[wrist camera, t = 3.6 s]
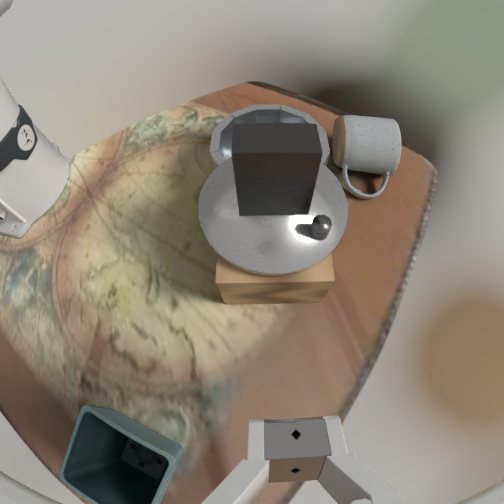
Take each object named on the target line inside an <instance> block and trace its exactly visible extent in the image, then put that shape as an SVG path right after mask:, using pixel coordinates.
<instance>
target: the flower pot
mask: <svg viewBox="0 0 504 504" xmlns="http://www.w3.org/2000/svg"><path fill="white" fill-rule="evenodd" d="M131 444H134V445H135V446H136V447H135V448H132V447H131ZM182 452H183V448H182V446H181V445H179V444H178V443H176V442H174V441H172V440H170V439H168V438H166V437H164V436H162V435H160V434H158V433H156V432H154V431H152V430H150V429H148V428H146V427H145V426H143V425H141V424H139V423H137V422H136V421H134V420H132V419H131V418H129V417H127V416H126V415H124V414H122V413H120V412H118V411H116V410H112V409H107V408H101V407H95V406H89V405H83V407H82V408H81V410H80V412H79V415H78V418H77V421H76V424H75V427H74V430H73V433H72V437H71V439H70V442H69V446H68V448H67V451H66V454H65V457H64V460H63V463H62V466H61V470H60V479H61V481H63V482H64V483H65V484H66V485H67V486H69V487H70V488H71V489H73V490H74V491H76V492H77V493H79V494H80V495H82V496H83V497H84V498H86V499H87V500H89V501H90V502H92V503H93V504H160V502H161V500H162V498H163V495H164V493H165V491H166V488H167V486H168V484H169V482H170V480H171V477H172V475H173V473H174V471H175V468H176V466H177V464H178V462H179V460H180V457H181V455H182ZM159 458H160V459H162V462H161V463H160V462H158V459H159ZM141 462H142V463H143V464H144V466H143V467H142V466H140V463H141Z"/></svg>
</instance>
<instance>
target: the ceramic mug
mask: <svg viewBox="0 0 504 504" xmlns="http://www.w3.org/2000/svg"><path fill="white" fill-rule="evenodd" d="M332 153H333V160H334V163H335V164H336V165H337V166H338V167H341V168H342V169H343V171H342V176H343V180H344V184H345V186H346V188H347V190H348V191H349V192H350V193H351V194H353V195H354V196H356V197H358V198H362V199H372V198H375V197H377V196H378V195H379V194H381V193H382V191H383V190H384V189H385V187H386V184H387V181H388V176H391V175H393V174H394V173H395V171H396V170H397V167H398V164H399V161H400V155H401V134H400V129H399V126H398V124H397V122H396V121H395V120H393V119H386V118H376V117H365V116H354V115H346V116H340V117H338V118H337V119H336V120H335V123H334V128H333V139H332ZM347 169H348V170H354V171H363V172H368V173H374V174H380V175H383V182H382V185H381V187H380V189H379V190H378V191H377V192H376V193H374V194H366V193H362V192H361V191H359V190H358V189H355V188H354V187H352V186H351V184H350V182H349V180H348V175H347Z"/></svg>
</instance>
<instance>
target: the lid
mask: <svg viewBox="0 0 504 504" xmlns="http://www.w3.org/2000/svg"><path fill="white" fill-rule="evenodd" d="M322 154H323V153H322V148H321V143H320V138H319V133H318V128H317V124H311V123H242V124H233V134H232V151H231V155H232V157H230V158H228V159H227V160H225V161H224V162H222V163H221V164H220V165H219V166H218V167H216V168H215V170H214V171H213V172H212V173H211V174H210V175H209V177H208V178H207V180H206V181H205V183H204V185H203V187H202V190H201V193H200V196H199V201H198V216H199V221H200V225H201V228H202V231H203V233H204V235H205V238H206V240H207V241H208V243H209V244H210V246H211V247H212V249H213V250H214V251H215V252H216V253H217V254H218V255H219V256H220V257H221V258H223V259H224V260H225V261H226V262H228V263H230V264H231V265H233V266H234V267H237V268H239V269H241V270H243V271H246V272H249V273H253V274H257V275H263V276H286V275H291V274H296V273H299V272H302V271H305V270H308V269H309V268H311V267H313V266H315V265H317V264H318V263H320V262H321V261H323V260H324V259H325V258H326V257H327V256H328V255H329V254H330V253H331V252H332V251H333V250H334V249H335V247H336V246H337V244H338V242H339V241H340V239H341V237H342V235H343V232H344V230H345V227H346V223H347V218H348V207H347V200H346V196H345V193H344V191H343V188H342V186H341V184H340V183H339V181H338V179H337V178H336V177H335V175H334V174H333V173H332V172H331V171H330V170H329V169H328V168H327V167H326V166H325V165H324V164H322V163H321V158H322Z"/></svg>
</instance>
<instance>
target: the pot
mask: <svg viewBox="0 0 504 504" xmlns="http://www.w3.org/2000/svg"><path fill="white" fill-rule="evenodd" d="M242 123H311V124H317V128H318V133H319V138H320V143H321V148H322V153H323V154H322V158H321V163H322V164H324V165H325V166H326V167H327V163H328V159H329V155H330V148H329V144H328V139H327V135H326V131H325V129H324V128H322V127H321V126H320V125H319V124H318V123H317V122H316V121H315V120H314V119H313V118H312V117H311V116H310V115H308V114H307V113H305V112H302V111H299V110H296V109H293V108H290V107H287V106H284V105H282V106H281V105H254V106H253V105H252V106H249V107H246V108H243V109H241V110H238V111H235V112H233V113H230V114H229V115H227V116H226V117H225V118H224V119H223V120H222V121H221V122H220V123H219V124H218V125H217V127H216V128H215V129H214V130H213V132H212V135H211V143H210V152H209V153H210V157H211V162H212V167H213V171H214V170H215V168H216V167H218V166H219V165H220V164H221V163H222V162H224V161H225V160H227V159H228V158H230V157H232V155H231V151H232V134H233V124H242Z"/></svg>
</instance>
